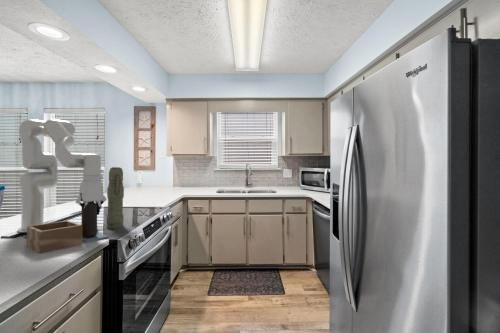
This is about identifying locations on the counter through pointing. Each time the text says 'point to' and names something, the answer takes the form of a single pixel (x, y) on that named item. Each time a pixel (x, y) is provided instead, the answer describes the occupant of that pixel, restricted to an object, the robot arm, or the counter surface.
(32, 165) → the robot arm
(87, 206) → the vinegar
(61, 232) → the crate
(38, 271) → the counter surface
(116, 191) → the thermos
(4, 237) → the counter surface
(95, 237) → the mat
